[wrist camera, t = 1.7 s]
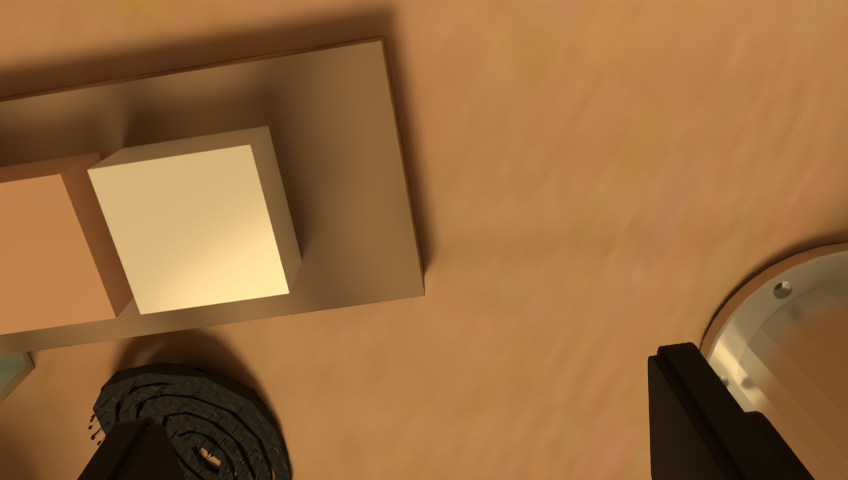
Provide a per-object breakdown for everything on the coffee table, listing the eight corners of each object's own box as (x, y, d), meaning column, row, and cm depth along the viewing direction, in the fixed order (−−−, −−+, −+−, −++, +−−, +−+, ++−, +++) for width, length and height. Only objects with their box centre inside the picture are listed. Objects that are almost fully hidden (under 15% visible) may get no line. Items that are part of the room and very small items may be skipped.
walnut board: (383, 35, 26) (380, 40, 24) (424, 275, 30) (424, 295, 29) (-84, 111, 27) (-120, 121, 25) (18, 333, 31) (-6, 356, 30)
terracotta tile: (98, 152, 26) (60, 174, 23) (145, 283, 28) (116, 318, 25) (-45, 174, 26) (-99, 198, 23) (14, 303, 29) (-29, 338, 26)
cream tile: (267, 125, 26) (250, 144, 23) (301, 261, 28) (289, 293, 25) (122, 148, 26) (86, 169, 23) (167, 280, 28) (140, 314, 25)
